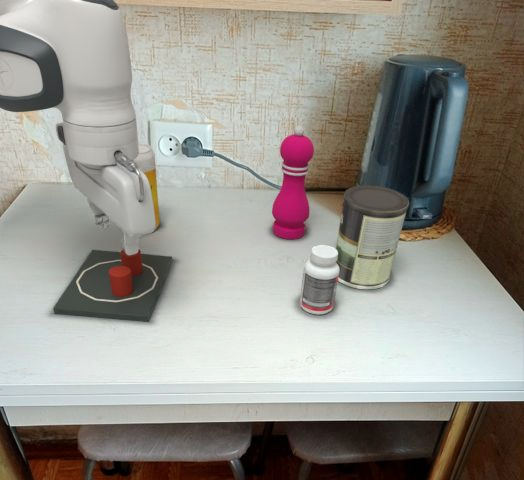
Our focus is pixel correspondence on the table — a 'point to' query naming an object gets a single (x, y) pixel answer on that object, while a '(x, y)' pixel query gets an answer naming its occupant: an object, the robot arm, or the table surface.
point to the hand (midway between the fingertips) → (116, 238)
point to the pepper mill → (293, 186)
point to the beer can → (149, 173)
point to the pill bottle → (320, 280)
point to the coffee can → (369, 235)
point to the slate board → (100, 294)
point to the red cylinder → (132, 262)
